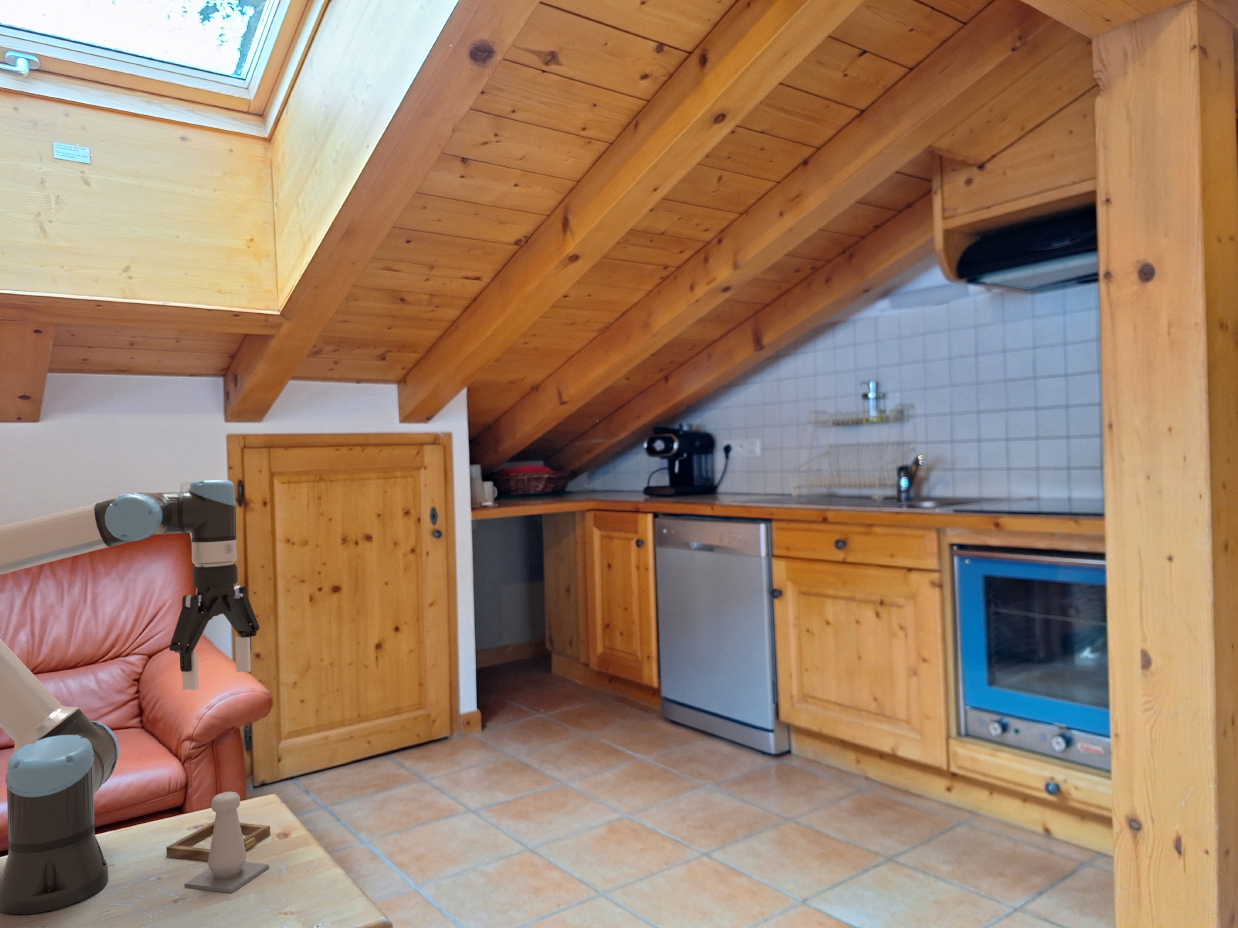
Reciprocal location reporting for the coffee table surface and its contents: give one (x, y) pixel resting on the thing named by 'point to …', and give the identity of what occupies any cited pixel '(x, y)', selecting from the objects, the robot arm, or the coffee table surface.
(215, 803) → the salt shaker
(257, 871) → the coaster
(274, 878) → the coffee table surface
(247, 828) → the brown wooden frame
